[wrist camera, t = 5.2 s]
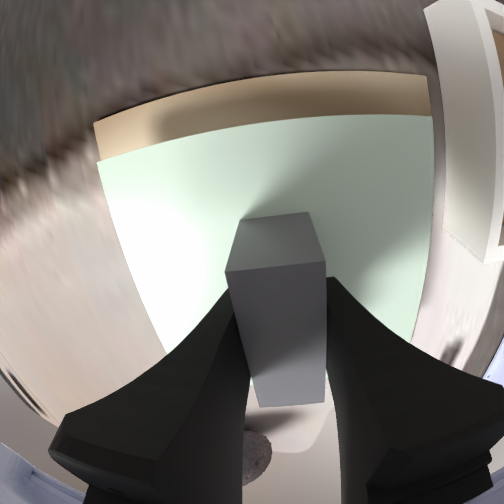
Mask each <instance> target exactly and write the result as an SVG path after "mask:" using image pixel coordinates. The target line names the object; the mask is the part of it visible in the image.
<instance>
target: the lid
mask: <svg viewBox="0 0 504 504" xmlns="http://www.w3.org/2000/svg"><path fill="white" fill-rule="evenodd" d="M97 166H98V170H99V174H100V177H101V181H102V185H103V189H104V192H105V196H106V199H107V203H108V206H109V209H110V213H111V216H112V219H113V222H114V225H115V228H116V231H117V234H118V237H119V240H120V243H121V246H122V249H123V252H124V254H125V257H126V260H127V263H128V265H129V268H130V271H131V273H132V276H133V278H134V281H135V283H136V286H137V288H138V291H139V293H140V296H141V298H142V300H143V303H144V305H145V307H146V310H147V312H148V314H149V317H150V319H151V321H152V323H153V325H154V328H155V330H156V332H157V334H158V336H159V338H160V340H161V342H162V344H163V347H164V349H165V351H166V353H167V354H169V353H170V352H171V351H172V350H173V349H174V348H175V347H176V346H177V345H178V344H179V343H181V342H182V340H183V339H184V338H185V337H186V336H187V335H188V334H189V333H190V332H191V331H192V330H193V329H194V328H195V327H196V326H197V325H198V323H199V322H200V321H201V320H202V319H203V318H204V316H205V315H206V314H207V313H208V312H209V310H210V309H211V308H212V307H213V305H214V304H215V303H216V302H217V300H218V299H219V298H220V297H221V295H222V294H223V293H224V292H225V291H226V289H227V288H228V289H229V293H230V297H231V301H232V305H233V309H234V313H235V317H236V321H237V325H238V329H239V333H240V337H241V341H242V344H243V348H244V352H245V356H246V360H247V363H248V367H249V371H250V374H251V380H250V385H254V389H255V393H256V396H257V400H258V403H259V407H279V406H293V405H304V404H313V403H322V402H324V398H325V379H328V375H327V371H326V347H327V288H326V277H333V276H334V277H335V278H337V279H338V281H339V282H340V283H341V284H342V285H343V286H344V287H345V288H346V289H347V290H348V291H349V292H350V293H351V294H352V295H353V297H354V298H355V299H356V300H357V301H358V302H360V303H361V304H362V305H363V306H364V307H365V308H366V309H367V310H368V311H369V312H370V313H371V314H372V315H373V316H375V317H376V318H377V319H378V320H379V321H380V322H382V323H383V324H384V325H385V326H386V327H388V328H389V329H390V330H391V331H393V332H394V333H396V334H397V335H398V336H400V337H401V338H403V339H404V340H406V341H407V342H409V343H410V341H411V337H412V333H413V330H414V326H415V322H416V317H417V313H418V309H419V304H420V300H421V295H422V290H423V284H424V279H425V273H426V267H427V260H428V253H429V246H430V237H431V228H432V216H433V201H434V132H433V118H432V117H431V116H418V115H389V114H366V115H336V116H320V117H307V118H296V119H287V120H278V121H270V122H262V123H255V124H249V125H243V126H236V127H231V128H225V129H220V130H214V131H209V132H205V133H200V134H195V135H191V136H186V137H182V138H178V139H174V140H170V141H166V142H162V143H158V144H154V145H150V146H147V147H143V148H140V149H136V150H133V151H130V152H126V153H123V154H120V155H117V156H114V157H111V158H108V159H105V160H102V161H99V162H97Z"/></svg>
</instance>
